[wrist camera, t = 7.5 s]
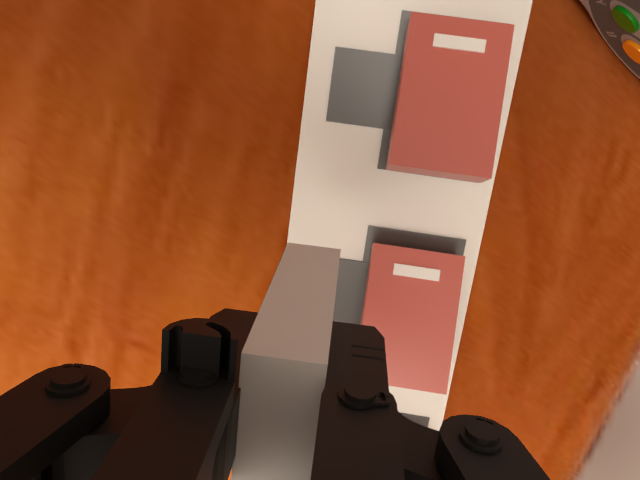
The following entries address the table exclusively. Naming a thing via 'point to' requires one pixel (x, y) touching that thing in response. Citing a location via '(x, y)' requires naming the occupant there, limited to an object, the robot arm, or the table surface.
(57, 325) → the table surface
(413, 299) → the block
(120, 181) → the table surface
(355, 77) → the rocker switch panel
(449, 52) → the block
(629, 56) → the grey rounded slab
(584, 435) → the table surface
